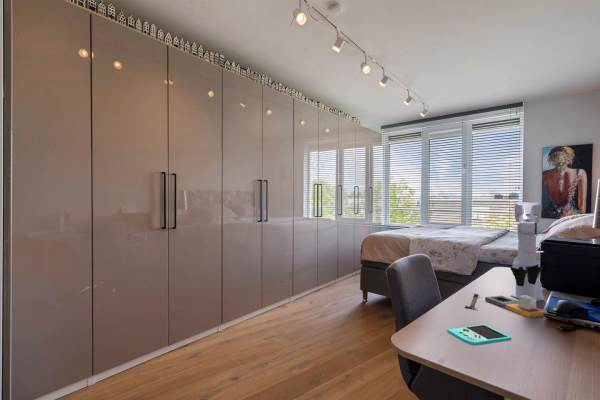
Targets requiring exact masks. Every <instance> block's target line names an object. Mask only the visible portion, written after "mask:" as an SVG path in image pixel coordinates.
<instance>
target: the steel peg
mask: <svg viewBox="0 0 600 400" xmlns="http://www.w3.org/2000/svg"><path fill="white" fill-rule="evenodd" d="M518 301H519V308H520V309H523V310H526V311H528V312H534V311H536V308H537V301H536V298H534V297H531V296H527V295H522V296H519V299H518Z"/></svg>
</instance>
